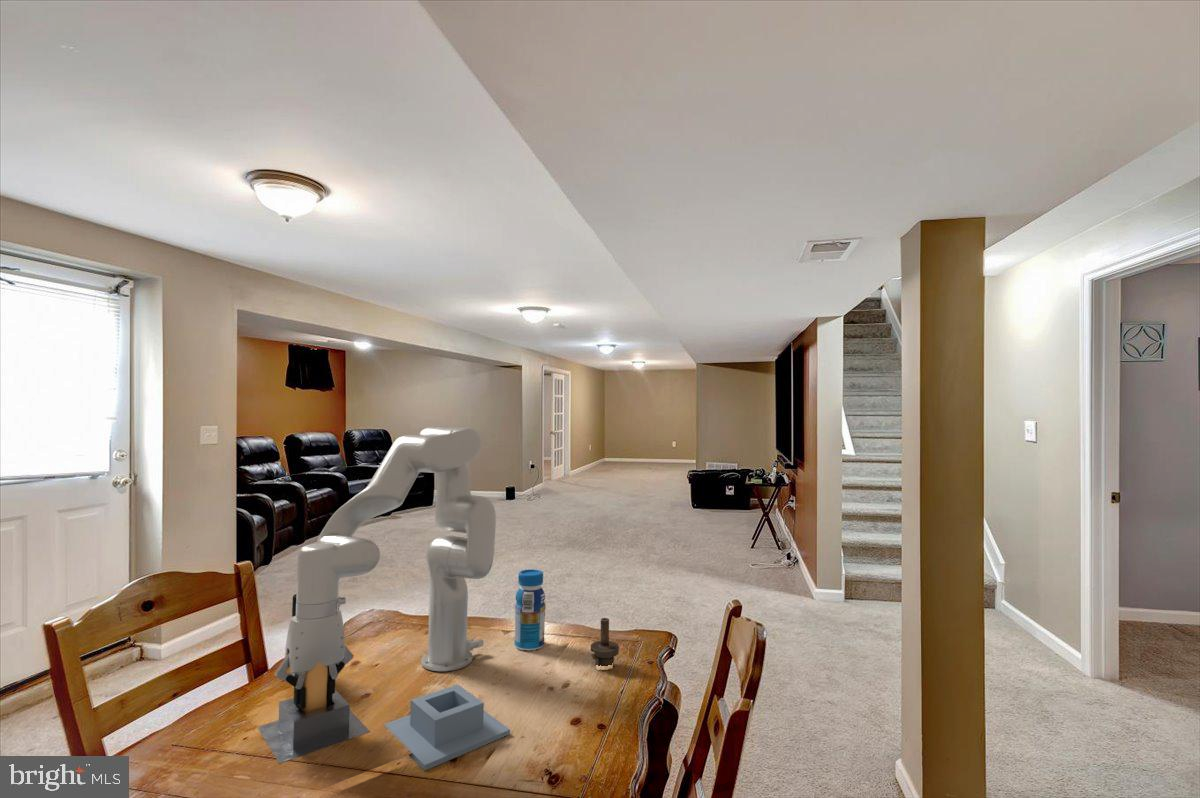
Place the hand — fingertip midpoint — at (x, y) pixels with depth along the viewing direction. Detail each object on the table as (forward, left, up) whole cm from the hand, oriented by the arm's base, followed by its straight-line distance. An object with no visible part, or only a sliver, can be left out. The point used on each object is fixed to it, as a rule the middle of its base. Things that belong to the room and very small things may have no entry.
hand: (314, 701), depth 115 cm
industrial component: (-64, +14, -7) cm, 66 cm away
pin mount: (0, 0, -6) cm, 6 cm away
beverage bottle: (-58, -9, -7) cm, 59 cm away
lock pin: (0, 0, -5) cm, 5 cm away
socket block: (-20, +16, -6) cm, 26 cm away
